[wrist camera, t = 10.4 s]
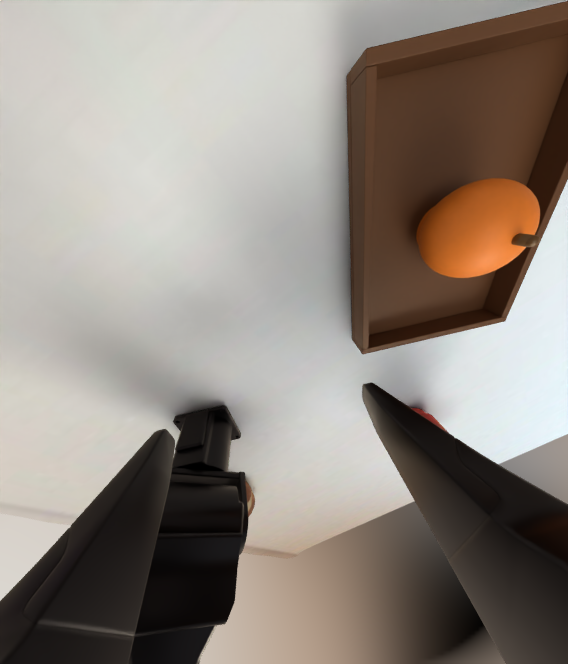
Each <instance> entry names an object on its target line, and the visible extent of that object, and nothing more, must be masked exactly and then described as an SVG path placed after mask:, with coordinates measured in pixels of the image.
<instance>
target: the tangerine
mask: <svg viewBox="0 0 568 664" xmlns="http://www.w3.org/2000/svg"><path fill="white" fill-rule="evenodd" d="M539 220H540V207H539V203H538V200H537V198H536V196H535V195H534V194H533V192H532V191H531V190H530V189H529V188H528V187H526V186H525V185H523V184H521V183H519V182H517V181H514V180H510V179H504V178H490V179H484V180H478V181H475V182H472V183H469V184H466V185H464V186H462V187H460V188H458V189H456V190H455V191H453V192H451V193H450V194H448V195H447V196H446V197H444V198H443V199H442V200H441V201H440V202H439V203H437V205H436V206H434V207H433V208H431V209H430V210H429V211H428V212H427V213H426V214H425V215H424V217H423V218H422V220H421V222H420V223H419V226H418V229H417V234H416V239H417V243H418V245H419V251H420V254H421V257H422V259H423V260H424V262H425V263H426V264H427V266H428V267H430V268H431V269H432V270H434V271H435V272H437V273H439V274H441V275H445V276H448V277H454V278H470V277H476V276H480V275H484V274H487V273H490V272H492V271H495V270H497V269H499V268H501V267H503V266H504V265H506V264H508V263H509V262H510V261H512V260H513V259H514V258H516V257H517V256H518V255H519V254H520V253H521V252H522V251H523V250H524V249H525V248H526V247H533V246H535V245H537V244H538V243H539V242H540V237H539V236H537V235H535V233H536V231H537V228H538V225H539Z"/></svg>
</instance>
